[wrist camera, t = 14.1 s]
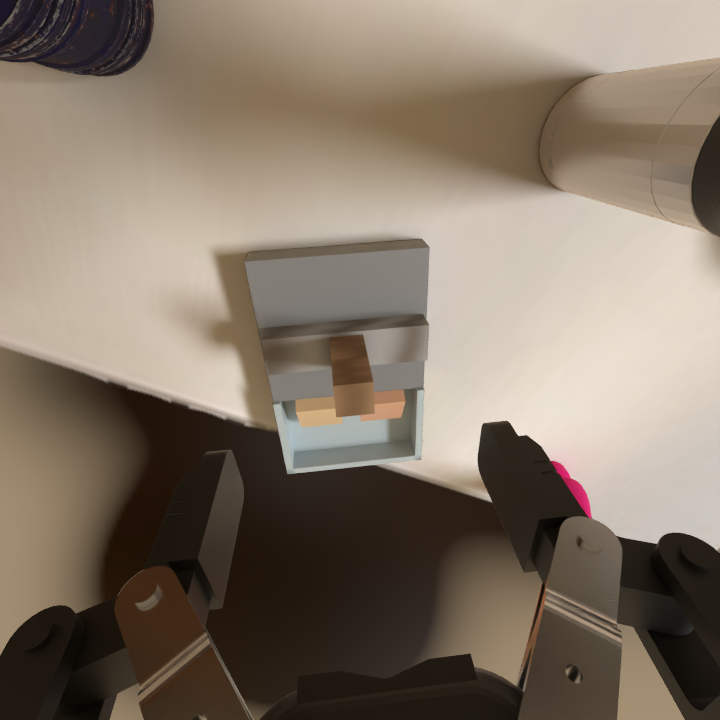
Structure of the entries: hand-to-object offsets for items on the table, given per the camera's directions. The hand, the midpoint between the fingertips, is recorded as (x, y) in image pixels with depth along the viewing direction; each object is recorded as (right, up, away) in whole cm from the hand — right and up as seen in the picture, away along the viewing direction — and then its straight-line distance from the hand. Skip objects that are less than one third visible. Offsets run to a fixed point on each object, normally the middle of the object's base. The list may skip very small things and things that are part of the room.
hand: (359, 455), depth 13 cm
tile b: (-5, -2, +34) cm, 34 cm away
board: (-2, +8, +30) cm, 31 cm away
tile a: (+2, -2, +34) cm, 34 cm away
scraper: (-1, +5, +28) cm, 28 cm away
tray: (-1, -4, +37) cm, 37 cm away
